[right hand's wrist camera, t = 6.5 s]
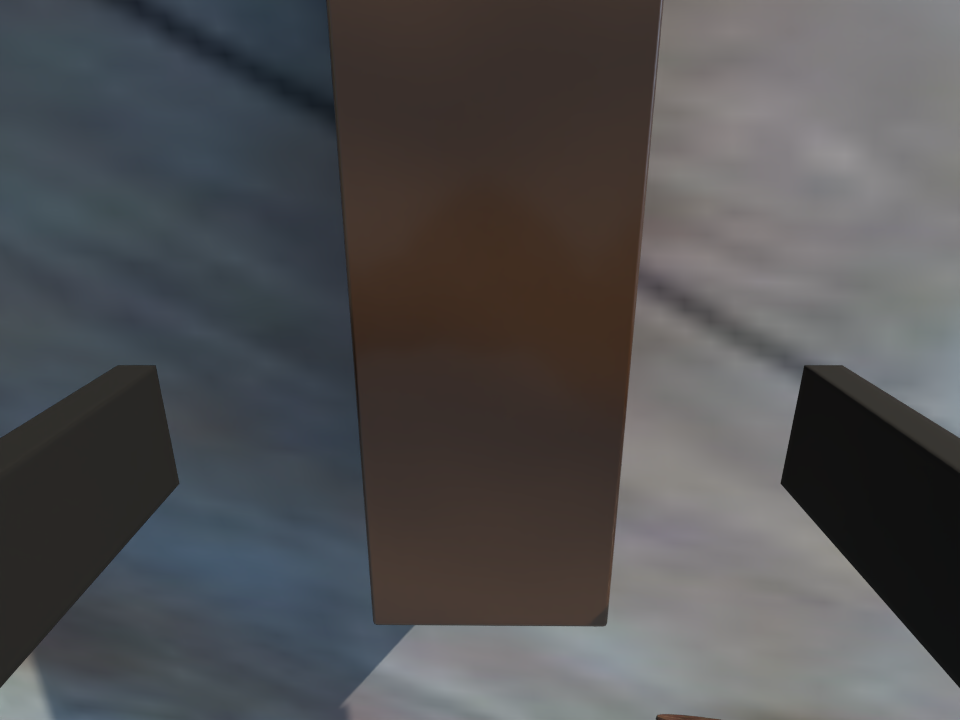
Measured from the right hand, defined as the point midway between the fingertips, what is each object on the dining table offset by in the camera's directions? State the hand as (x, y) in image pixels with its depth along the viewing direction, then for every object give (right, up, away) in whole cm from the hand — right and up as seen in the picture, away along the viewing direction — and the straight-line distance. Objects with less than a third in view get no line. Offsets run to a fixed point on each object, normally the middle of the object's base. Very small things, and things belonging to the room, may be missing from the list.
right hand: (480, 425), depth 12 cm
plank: (0, +12, +2) cm, 12 cm away
